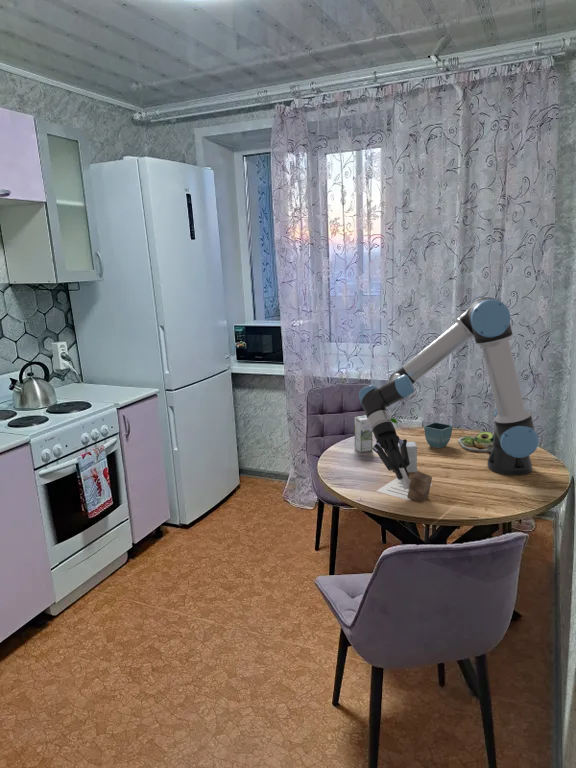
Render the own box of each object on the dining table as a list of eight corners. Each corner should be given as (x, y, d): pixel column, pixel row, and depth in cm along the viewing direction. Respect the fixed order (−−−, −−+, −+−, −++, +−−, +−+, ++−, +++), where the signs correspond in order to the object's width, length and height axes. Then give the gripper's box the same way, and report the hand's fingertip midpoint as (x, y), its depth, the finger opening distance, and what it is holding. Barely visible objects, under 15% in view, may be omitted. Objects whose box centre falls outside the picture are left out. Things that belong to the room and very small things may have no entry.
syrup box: (366, 447, 219) (366, 414, 216) (373, 451, 213) (372, 418, 210) (354, 449, 217) (353, 416, 214) (360, 453, 212) (360, 419, 209)
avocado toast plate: (510, 455, 203) (511, 444, 202) (464, 455, 205) (464, 444, 204) (499, 440, 221) (499, 430, 220) (456, 440, 224) (456, 430, 223)
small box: (414, 467, 194) (415, 441, 192) (417, 473, 189) (417, 446, 186) (393, 467, 195) (393, 441, 193) (395, 473, 189) (395, 446, 187)
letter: (432, 485, 177) (432, 484, 177) (410, 501, 165) (410, 500, 165) (399, 477, 186) (399, 476, 186) (375, 491, 174) (375, 491, 174)
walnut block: (427, 498, 167) (432, 476, 165) (421, 503, 164) (425, 481, 161) (414, 492, 170) (418, 471, 168) (407, 497, 166) (411, 476, 164)
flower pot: (434, 441, 222) (434, 421, 220) (452, 445, 216) (453, 425, 214) (423, 446, 217) (423, 426, 215) (441, 451, 210) (442, 430, 208)
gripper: (393, 428, 185) (419, 488, 173) (361, 433, 181) (386, 495, 169) (401, 418, 179) (429, 479, 167) (369, 423, 175) (395, 486, 163)
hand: (407, 487), depth 168 cm, fingers closed
